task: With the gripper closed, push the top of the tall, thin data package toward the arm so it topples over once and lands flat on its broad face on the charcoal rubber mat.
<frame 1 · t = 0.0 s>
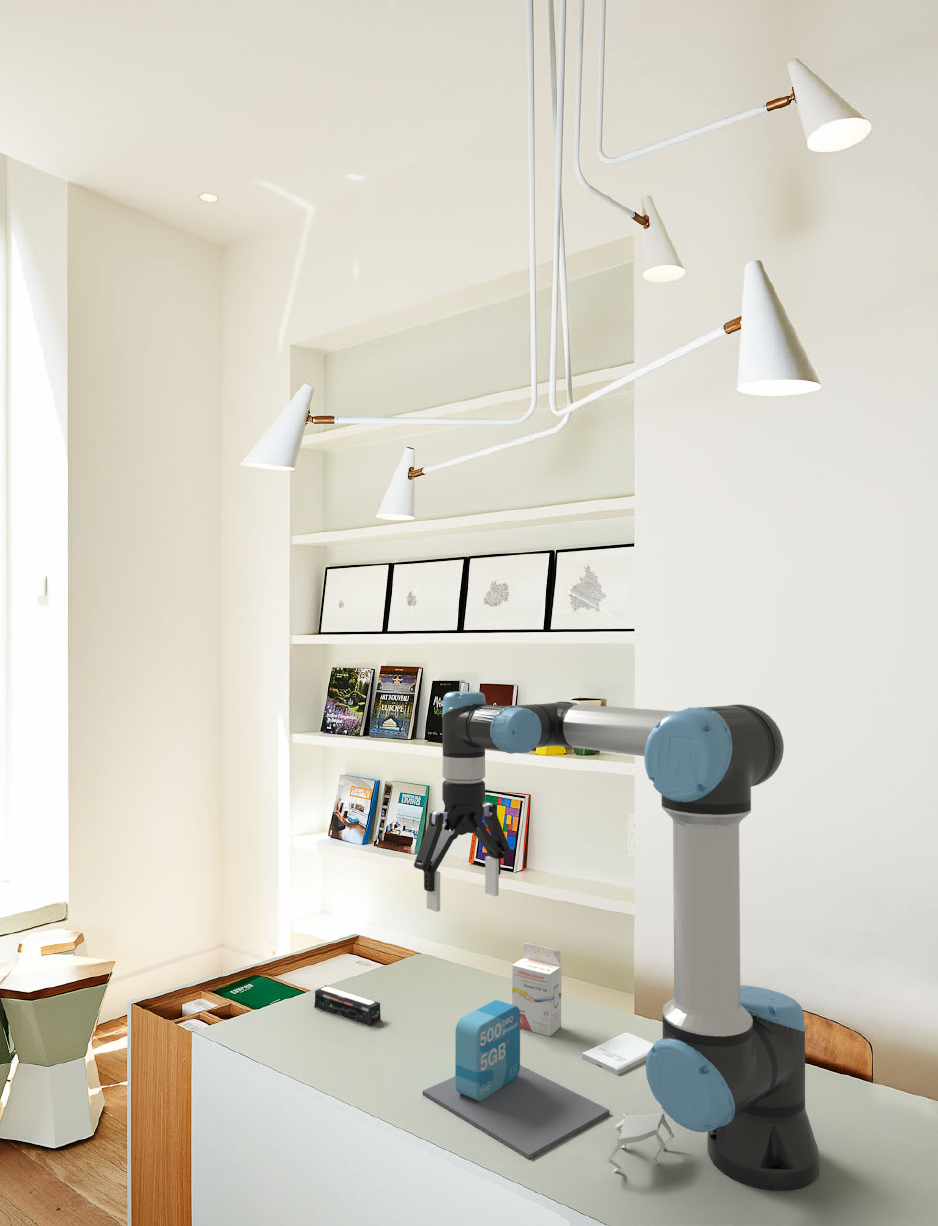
hand: (463, 901, 154), 28 cm above the table, tool pointing down, fingers open, 13 cm apart
origami figure: (634, 1162, 125), on the table
external hard drive: (621, 1059, 157), on the table
ink cartridge box: (536, 1027, 168), on the table
bus: (351, 1022, 172), on the table
data package: (488, 1086, 145), resting on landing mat
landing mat: (514, 1103, 140), on the table
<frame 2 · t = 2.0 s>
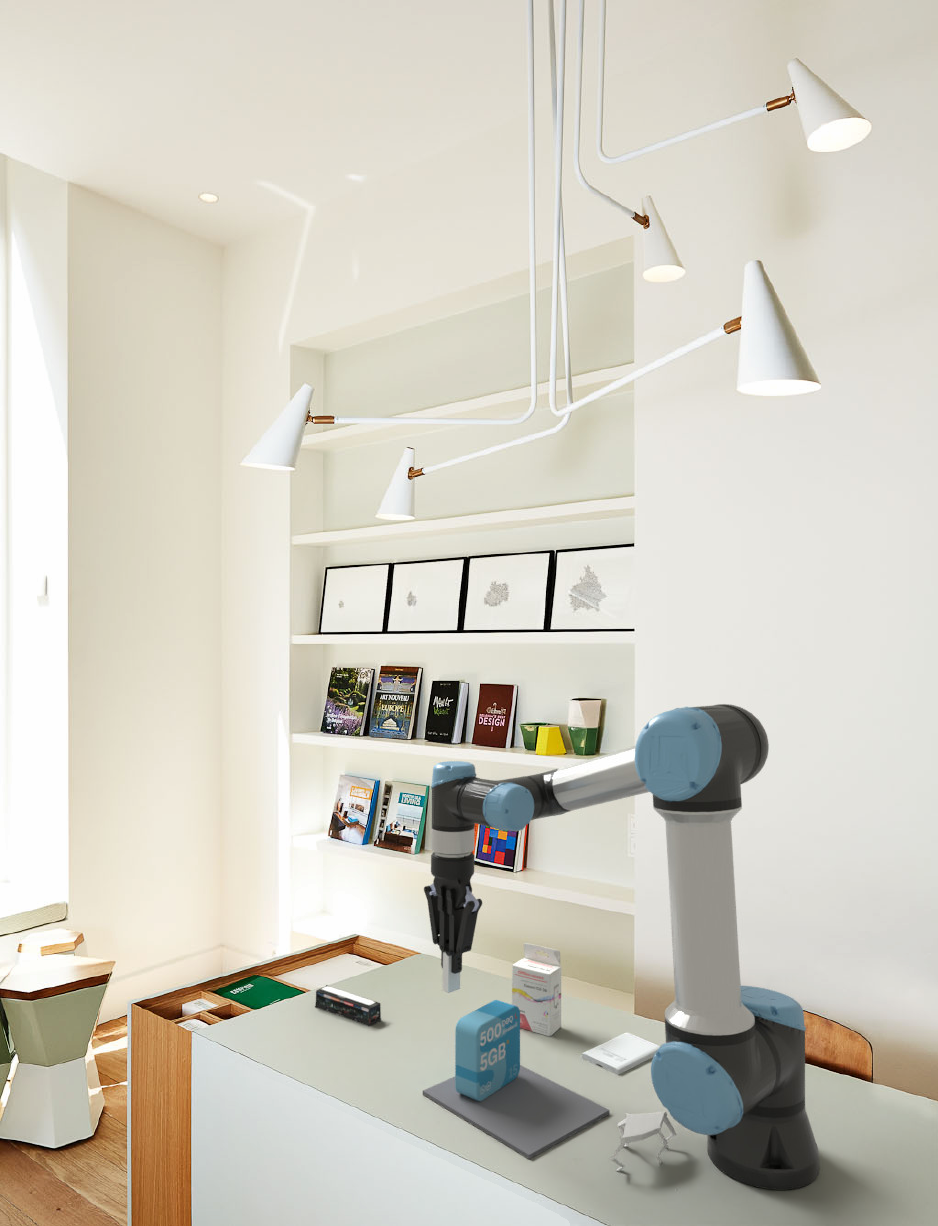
hand: (451, 989, 152), 14 cm above the table, tool pointing down, fingers closed
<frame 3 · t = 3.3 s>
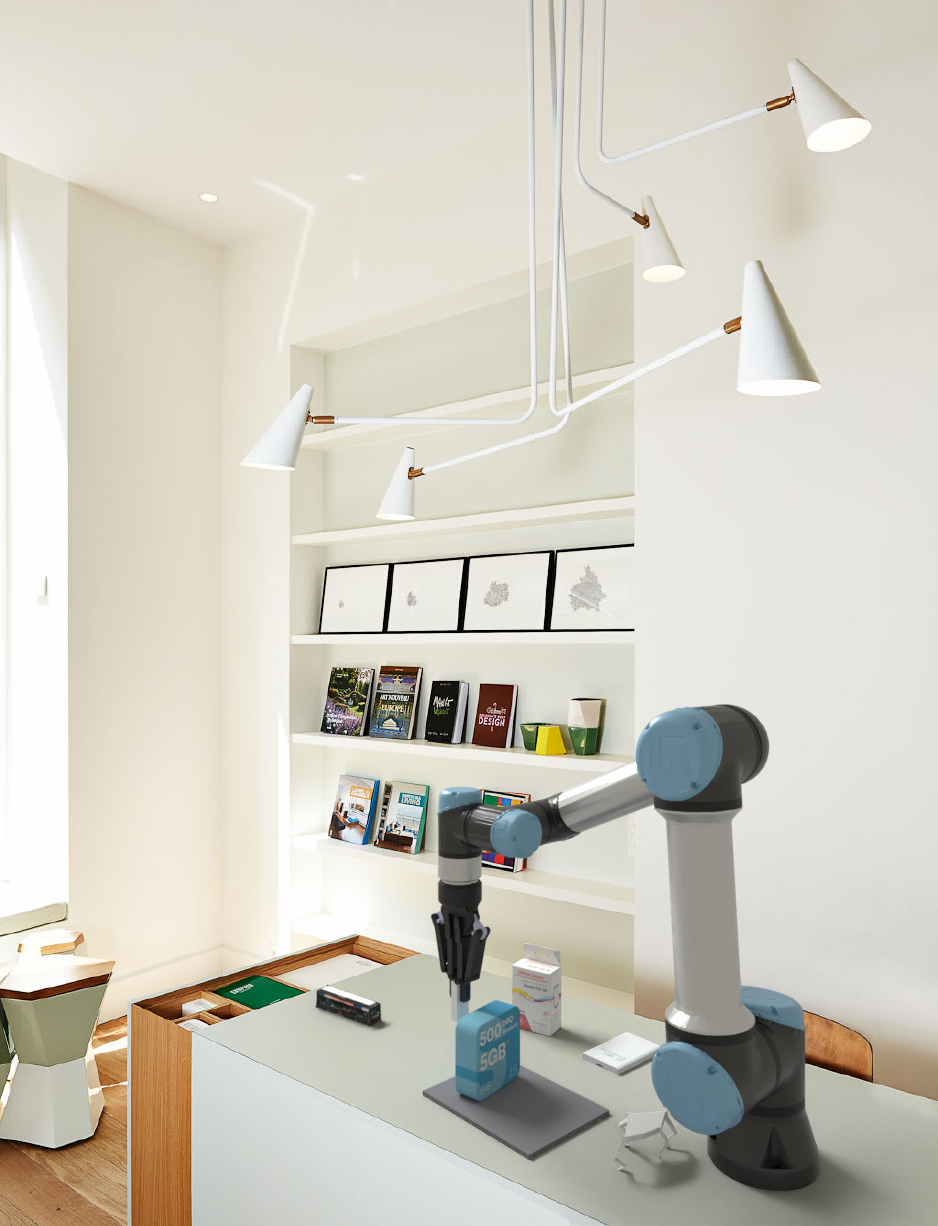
hand: (459, 1018, 150), 9 cm above the table, tool pointing down, fingers closed
nothing on the table moved.
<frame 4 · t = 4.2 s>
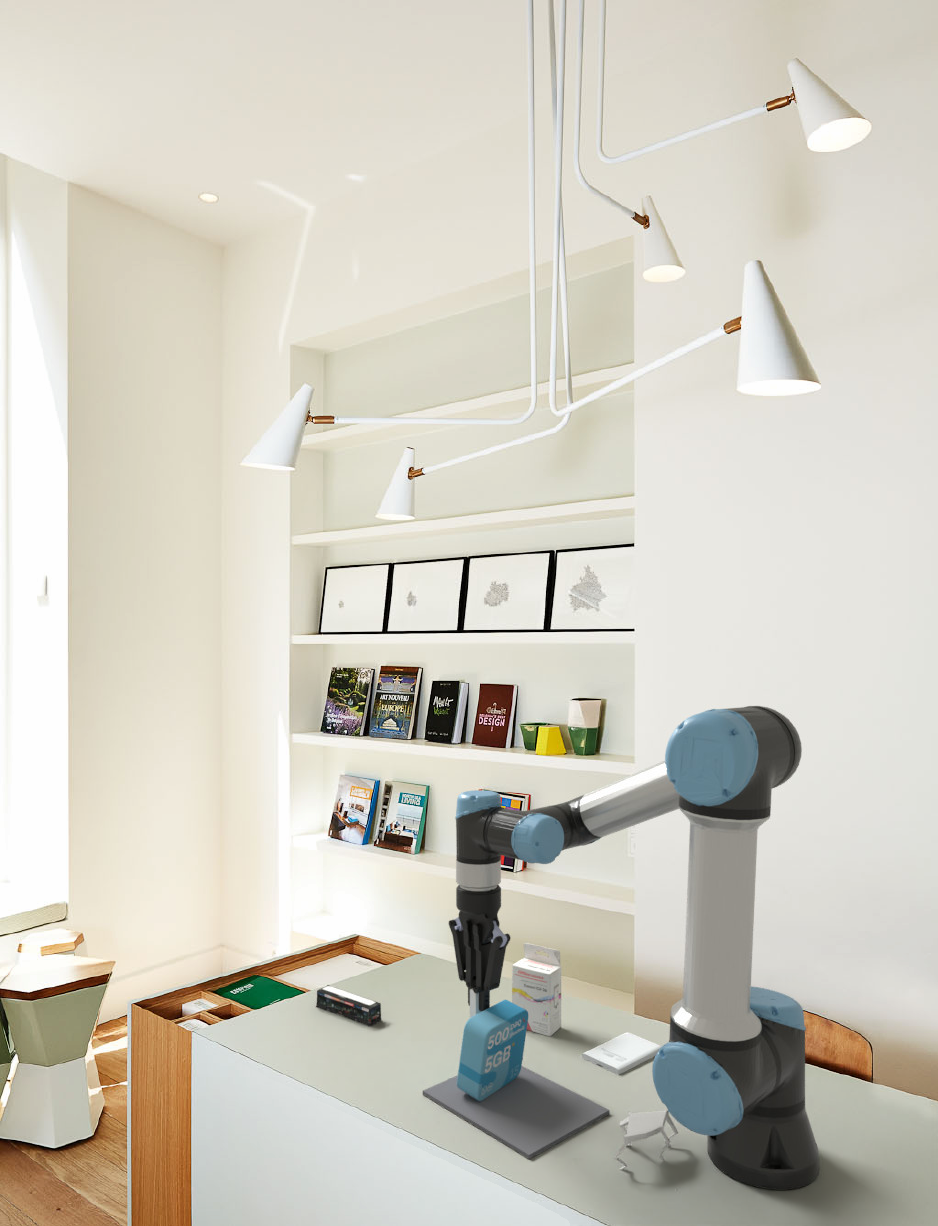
hand: (478, 1027, 146), 9 cm above the table, tool pointing down, fingers closed
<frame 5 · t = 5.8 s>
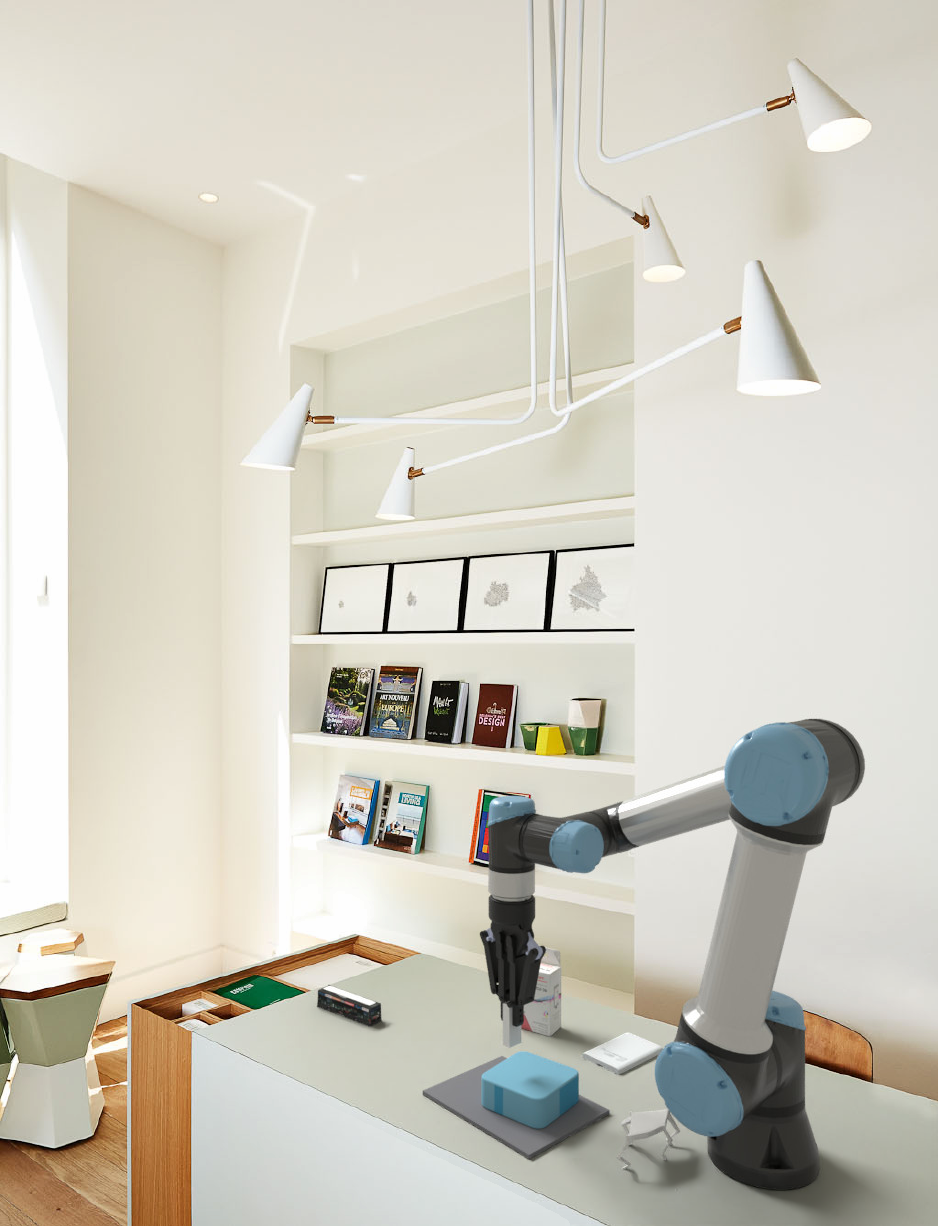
hand: (512, 1043, 141), 9 cm above the table, tool pointing down, fingers closed
data package: (498, 1075, 143), point 3 cm above the table, touching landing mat
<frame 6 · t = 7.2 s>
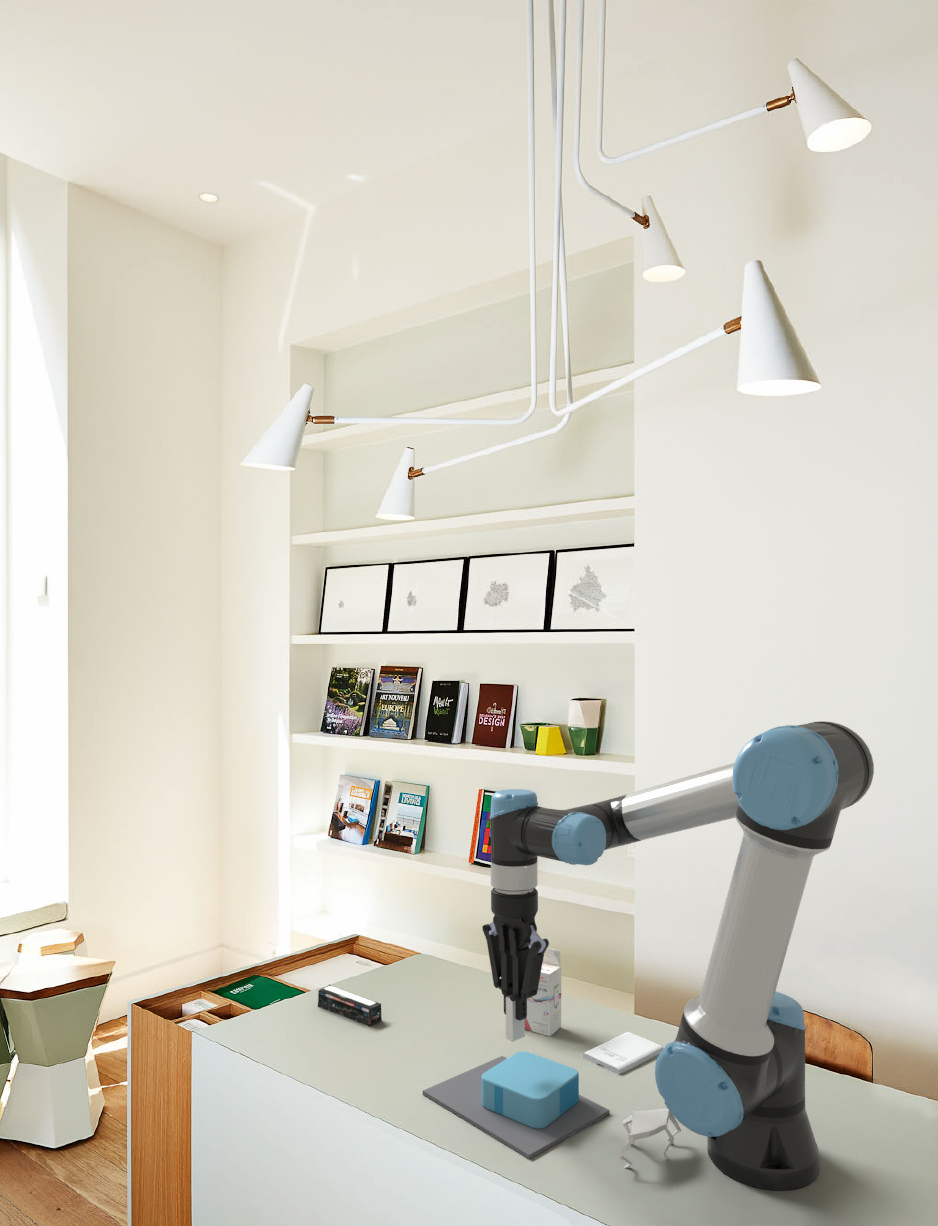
hand: (515, 1037, 140), 10 cm above the table, tool pointing down, fingers closed
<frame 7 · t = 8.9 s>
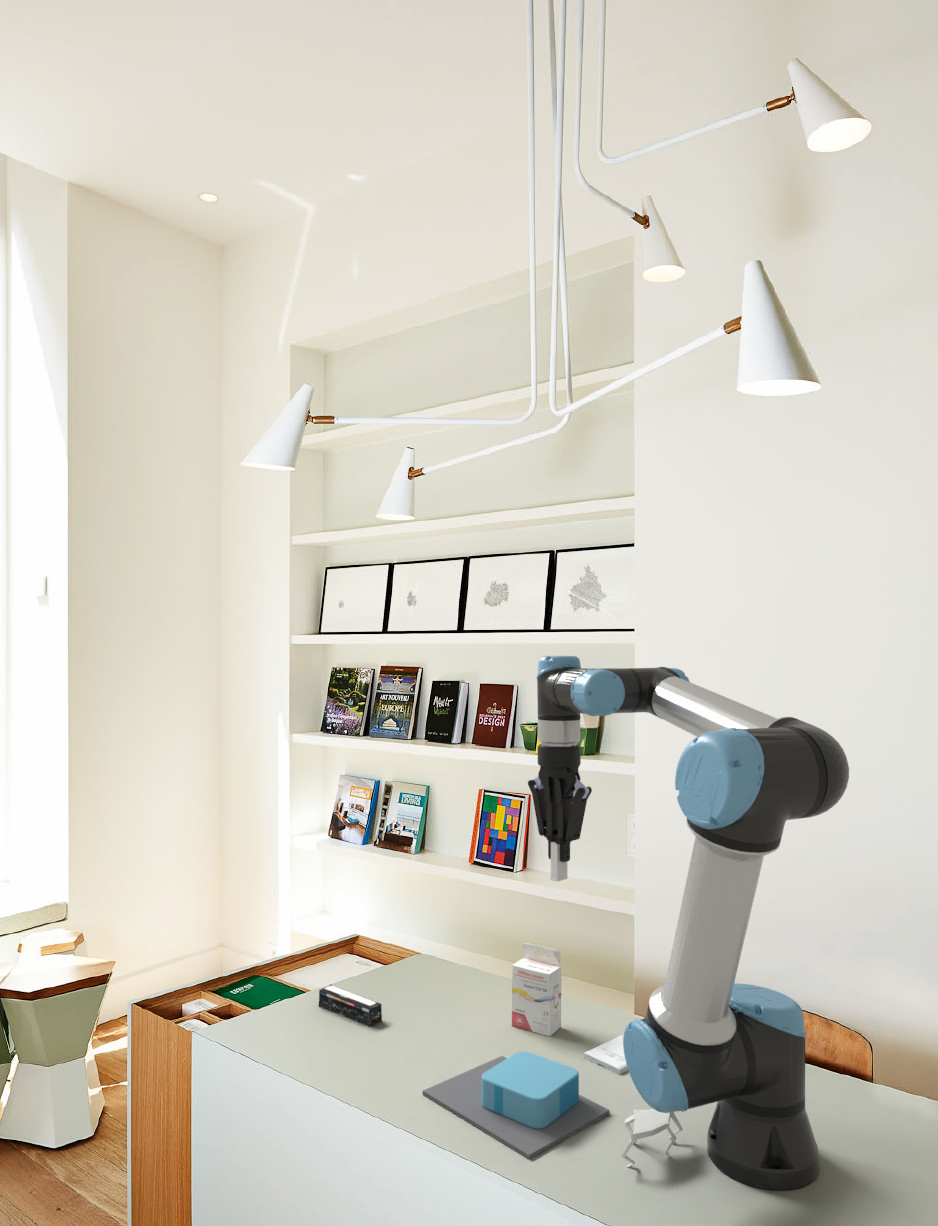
hand: (559, 879, 154), 32 cm above the table, tool pointing down, fingers closed
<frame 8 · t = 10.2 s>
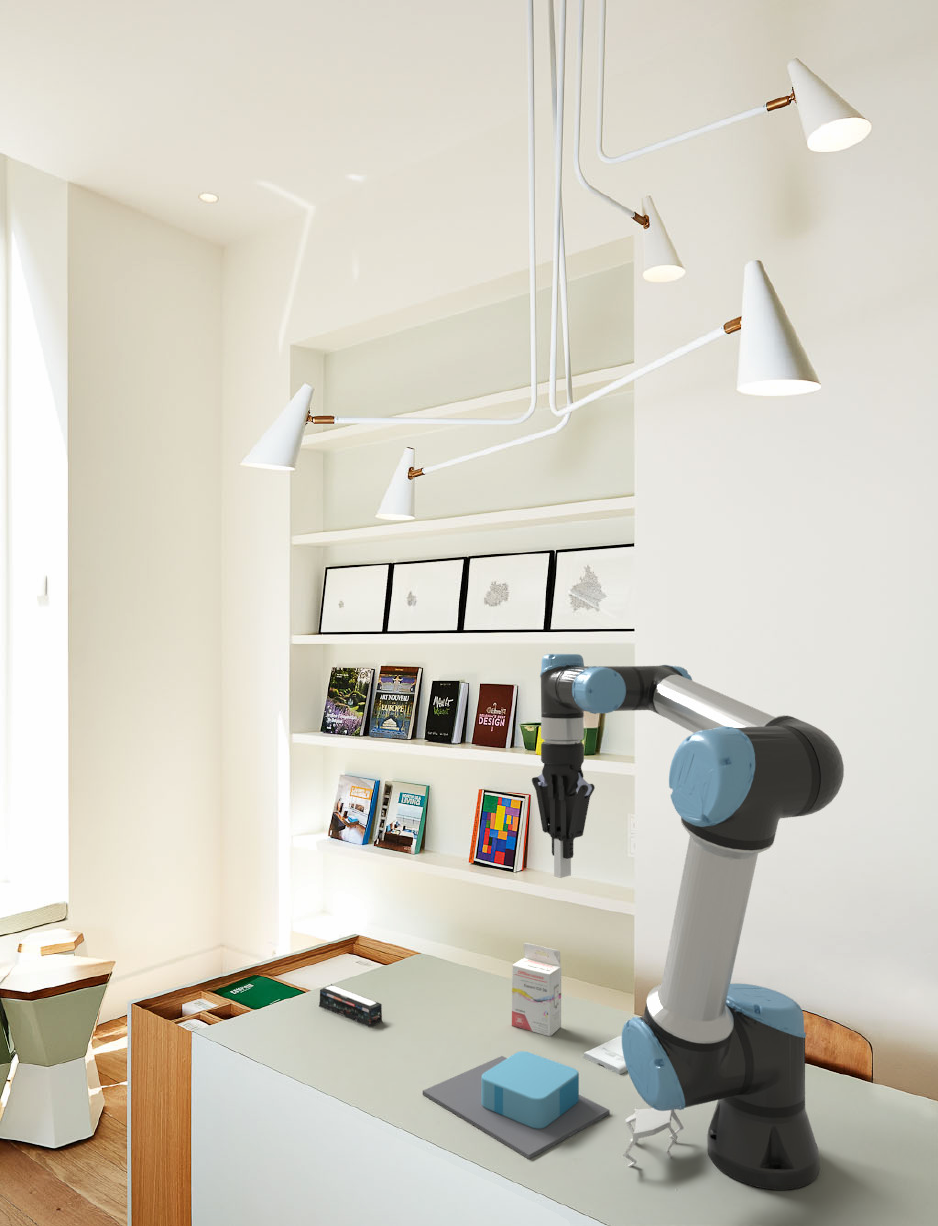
hand: (562, 875, 155), 32 cm above the table, tool pointing down, fingers closed
at the end: data package tilted 90°; data package inside the target area (0.6 cm from its centre), point 2.9 cm above the table; the gripper is holding nothing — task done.
